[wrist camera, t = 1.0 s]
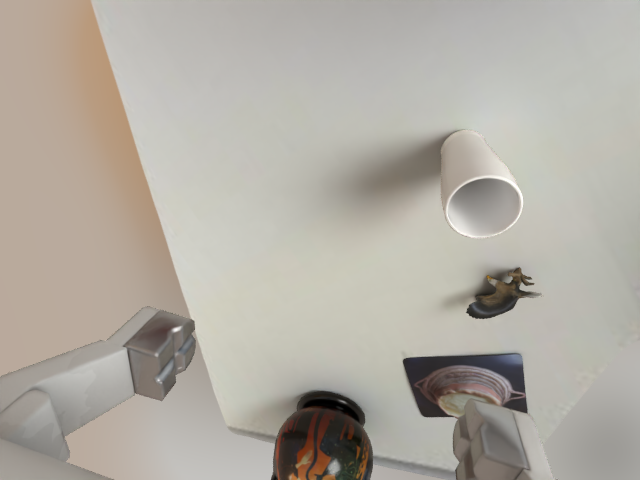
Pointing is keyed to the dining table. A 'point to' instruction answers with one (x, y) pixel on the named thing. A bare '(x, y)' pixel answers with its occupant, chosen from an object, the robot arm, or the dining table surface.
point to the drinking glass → (477, 187)
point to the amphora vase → (323, 441)
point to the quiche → (466, 383)
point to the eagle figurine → (501, 297)
